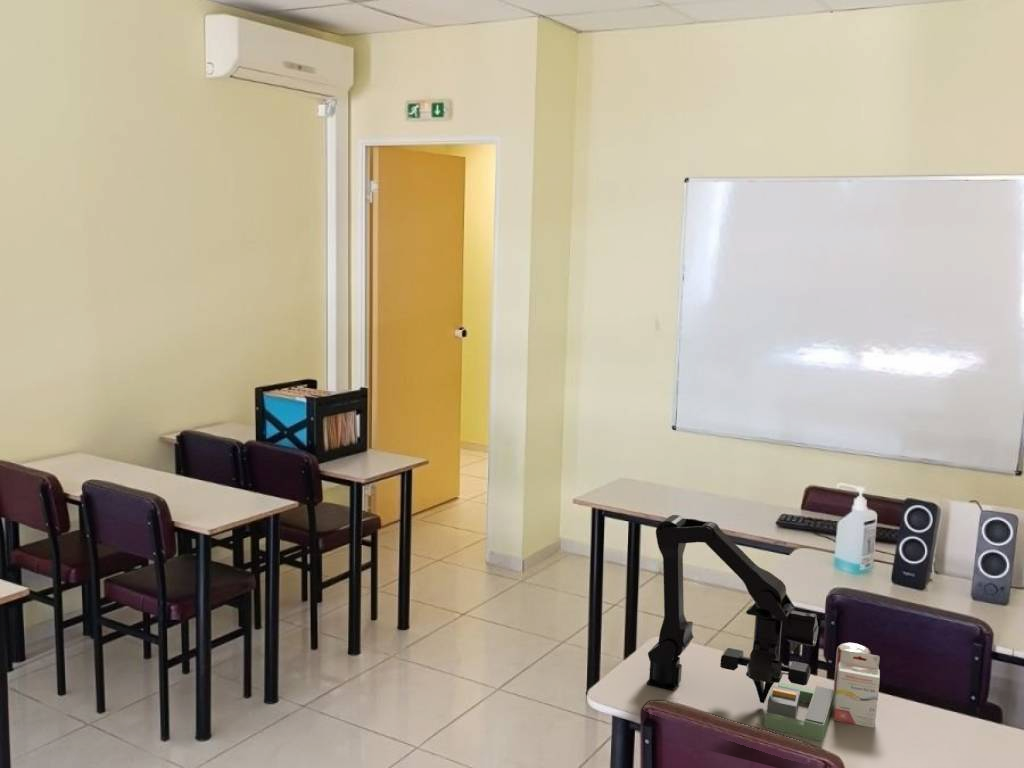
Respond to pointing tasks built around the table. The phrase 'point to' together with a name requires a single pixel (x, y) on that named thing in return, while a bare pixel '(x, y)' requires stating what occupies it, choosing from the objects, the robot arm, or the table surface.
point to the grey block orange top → (783, 702)
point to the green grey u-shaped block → (814, 717)
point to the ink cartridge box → (857, 689)
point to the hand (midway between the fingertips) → (762, 702)
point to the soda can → (854, 648)
